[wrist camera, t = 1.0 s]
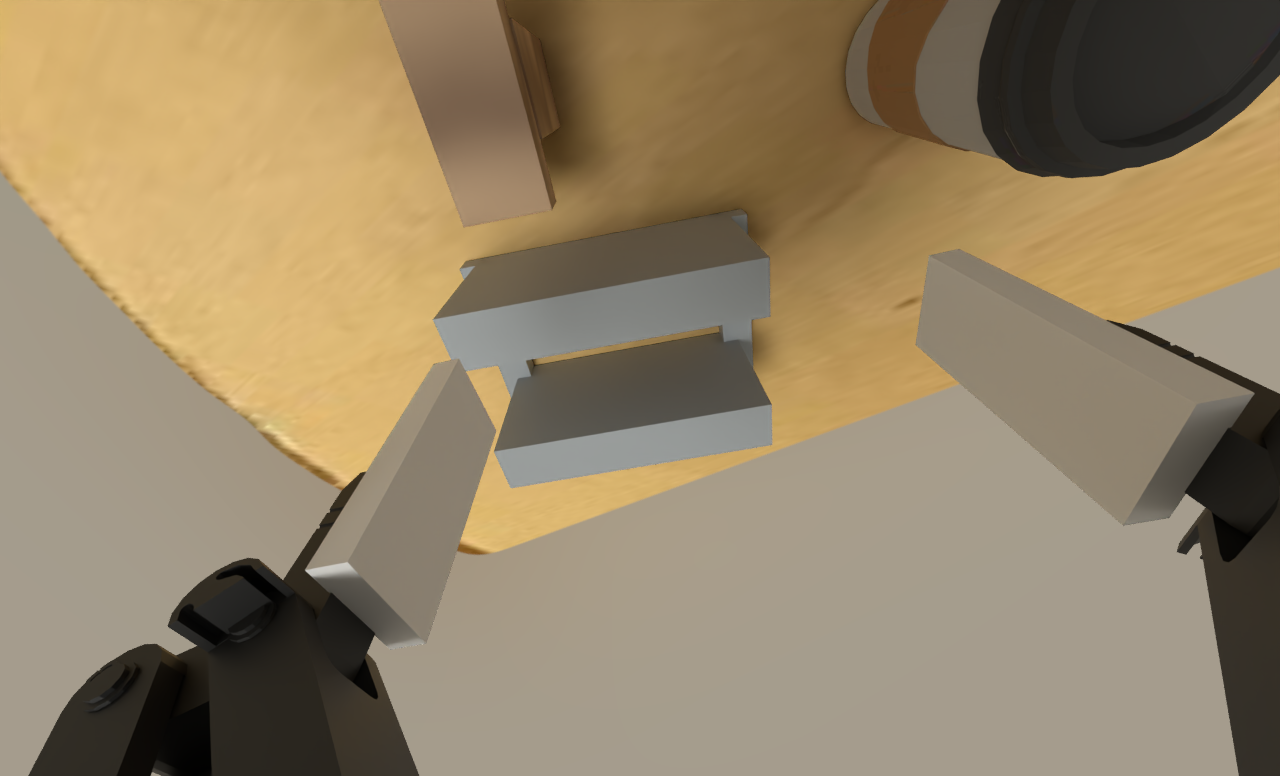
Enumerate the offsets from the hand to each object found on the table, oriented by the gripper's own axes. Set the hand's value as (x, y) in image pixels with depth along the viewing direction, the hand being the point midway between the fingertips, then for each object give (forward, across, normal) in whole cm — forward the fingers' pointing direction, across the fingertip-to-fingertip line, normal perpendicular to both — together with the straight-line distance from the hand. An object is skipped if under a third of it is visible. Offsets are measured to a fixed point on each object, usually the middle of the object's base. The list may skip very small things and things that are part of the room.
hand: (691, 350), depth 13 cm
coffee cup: (+19, +15, +4) cm, 24 cm away
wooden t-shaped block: (+18, -6, +7) cm, 21 cm away
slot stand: (+18, -4, -7) cm, 20 cm away
